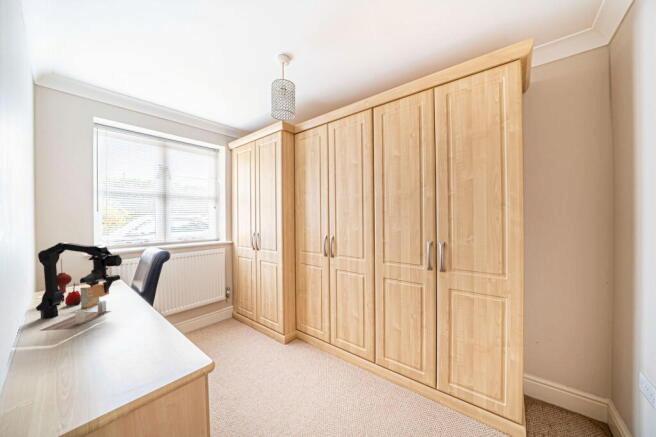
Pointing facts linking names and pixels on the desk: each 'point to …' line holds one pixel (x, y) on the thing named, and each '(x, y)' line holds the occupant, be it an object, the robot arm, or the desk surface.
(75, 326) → the walnut board
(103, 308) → the steel post
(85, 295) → the supplement box
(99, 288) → the peach wooden cube
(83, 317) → the white post
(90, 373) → the desk surface
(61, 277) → the lantern
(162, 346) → the desk surface
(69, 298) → the red clay folk toy
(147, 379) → the desk surface
